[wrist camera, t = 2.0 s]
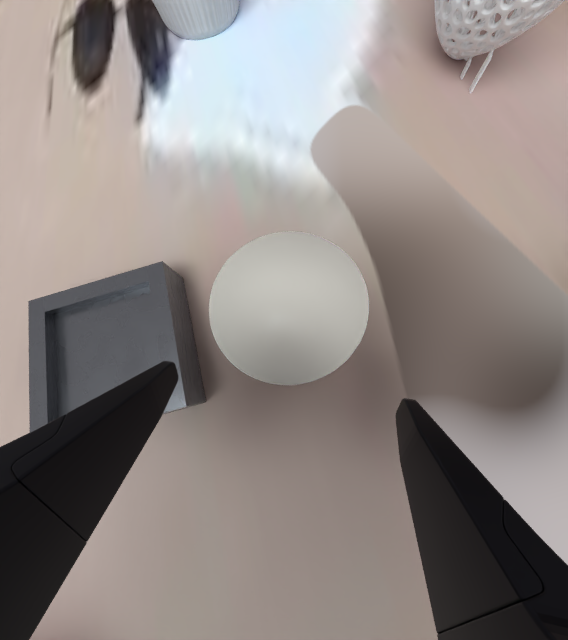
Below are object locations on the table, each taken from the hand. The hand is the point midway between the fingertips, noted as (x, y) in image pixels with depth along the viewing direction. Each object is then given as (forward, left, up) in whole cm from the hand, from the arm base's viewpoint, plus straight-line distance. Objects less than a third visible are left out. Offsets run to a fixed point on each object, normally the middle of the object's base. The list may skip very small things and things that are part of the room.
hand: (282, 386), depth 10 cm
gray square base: (+11, +8, -10) cm, 17 cm away
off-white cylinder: (+2, -2, -10) cm, 10 cm away
